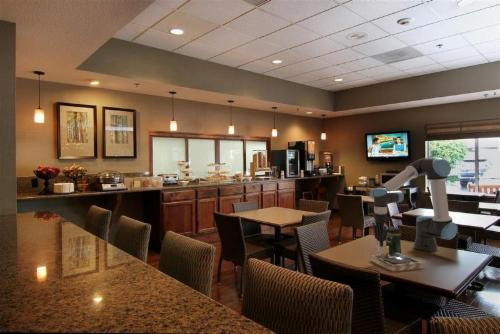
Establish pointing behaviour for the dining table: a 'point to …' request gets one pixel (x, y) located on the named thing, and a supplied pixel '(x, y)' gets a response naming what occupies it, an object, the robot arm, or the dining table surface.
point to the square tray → (396, 267)
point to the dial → (395, 257)
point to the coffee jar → (393, 240)
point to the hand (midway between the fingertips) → (380, 251)
